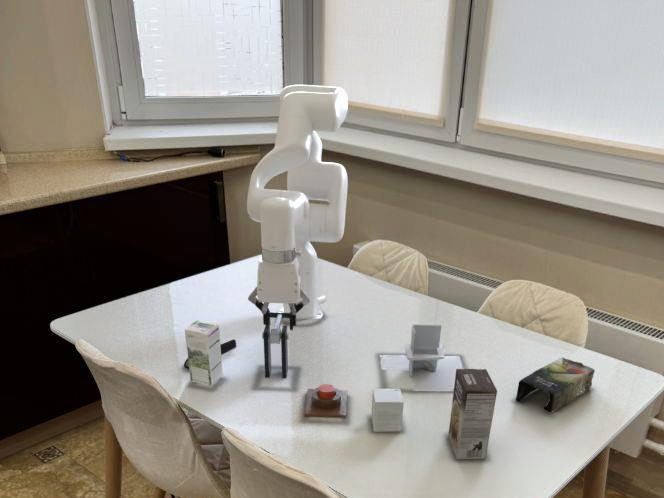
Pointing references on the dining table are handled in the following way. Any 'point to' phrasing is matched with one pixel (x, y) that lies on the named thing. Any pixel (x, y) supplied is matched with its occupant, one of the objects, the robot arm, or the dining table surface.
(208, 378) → the syrup box
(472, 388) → the coffee box
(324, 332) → the dining table surface
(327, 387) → the button
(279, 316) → the switch lever
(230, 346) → the electric trimmer
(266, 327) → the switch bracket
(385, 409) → the product box
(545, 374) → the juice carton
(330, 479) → the dining table surface
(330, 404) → the button housing
